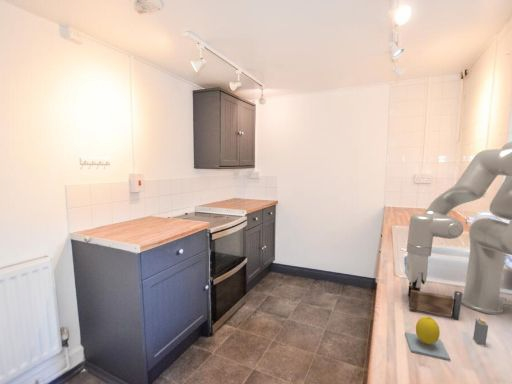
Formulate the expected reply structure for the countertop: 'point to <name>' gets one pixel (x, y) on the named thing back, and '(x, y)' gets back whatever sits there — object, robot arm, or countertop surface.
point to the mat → (426, 347)
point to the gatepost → (456, 305)
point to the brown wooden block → (431, 302)
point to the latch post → (480, 332)
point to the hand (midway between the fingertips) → (413, 297)
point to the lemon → (427, 330)
